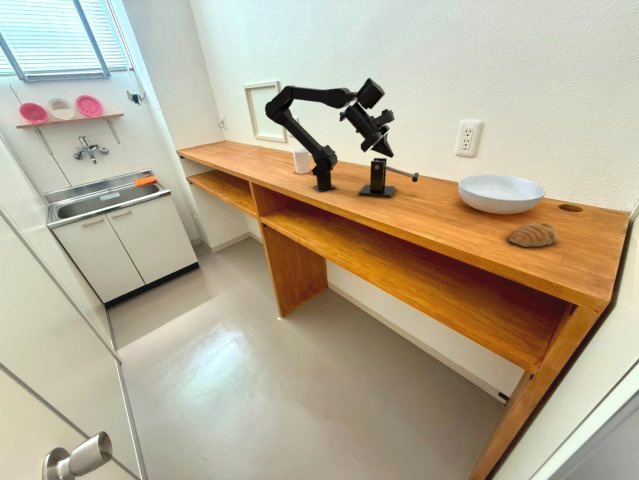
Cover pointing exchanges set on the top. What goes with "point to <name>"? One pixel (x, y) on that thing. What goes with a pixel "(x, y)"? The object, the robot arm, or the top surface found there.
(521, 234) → the pastry
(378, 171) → the bracket
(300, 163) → the white cup
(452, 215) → the top surface
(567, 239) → the top surface
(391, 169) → the lever
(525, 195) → the serving bowl
